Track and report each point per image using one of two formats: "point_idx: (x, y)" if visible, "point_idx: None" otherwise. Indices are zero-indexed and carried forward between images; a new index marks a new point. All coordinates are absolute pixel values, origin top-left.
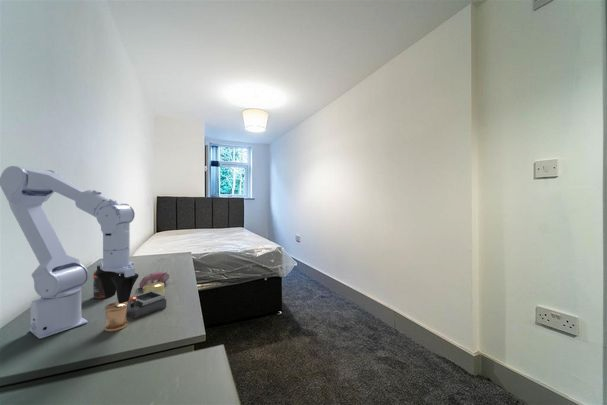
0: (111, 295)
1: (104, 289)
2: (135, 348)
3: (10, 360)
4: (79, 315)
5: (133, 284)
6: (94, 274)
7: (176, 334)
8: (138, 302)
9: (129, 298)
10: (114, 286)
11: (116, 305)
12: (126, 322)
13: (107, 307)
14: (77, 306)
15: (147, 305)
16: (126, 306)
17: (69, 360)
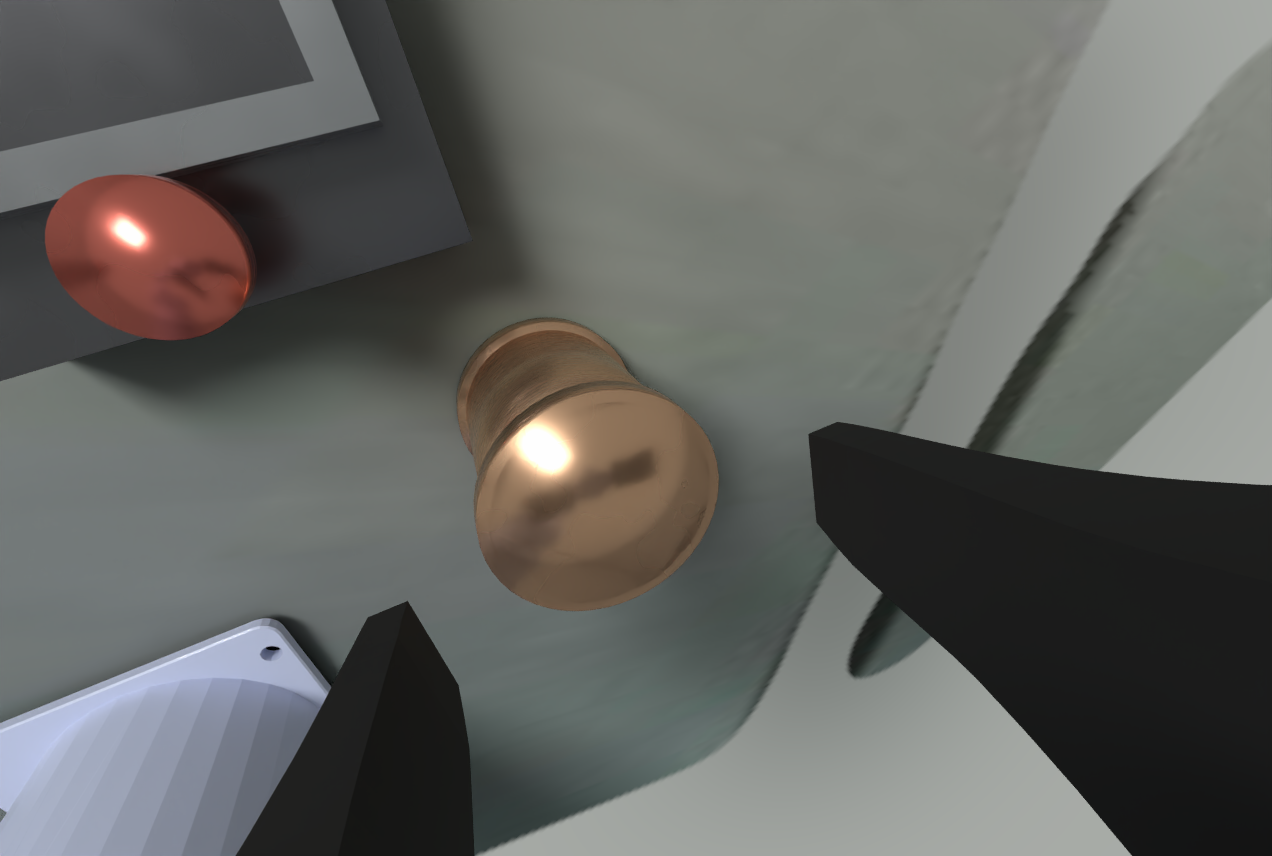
0: (433, 645)
1: (472, 843)
2: (951, 318)
3: (596, 796)
4: (221, 733)
5: (1175, 487)
6: None
7: (1032, 25)
8: (228, 158)
9: (159, 310)
10: (387, 750)
11: (620, 508)
12: (583, 337)
13: (617, 586)
14: (223, 851)
15: (381, 48)
16: (669, 398)
17: (796, 588)
